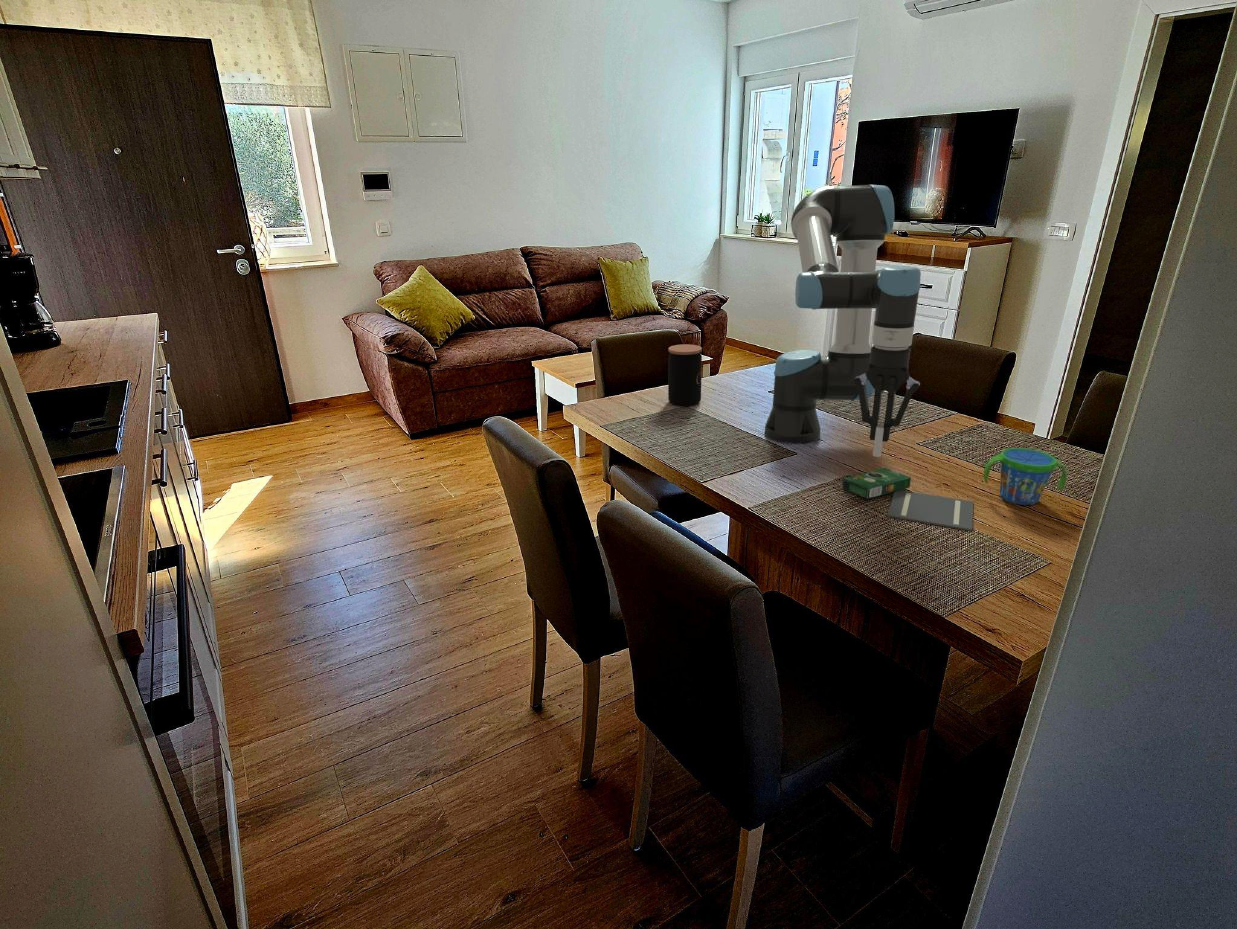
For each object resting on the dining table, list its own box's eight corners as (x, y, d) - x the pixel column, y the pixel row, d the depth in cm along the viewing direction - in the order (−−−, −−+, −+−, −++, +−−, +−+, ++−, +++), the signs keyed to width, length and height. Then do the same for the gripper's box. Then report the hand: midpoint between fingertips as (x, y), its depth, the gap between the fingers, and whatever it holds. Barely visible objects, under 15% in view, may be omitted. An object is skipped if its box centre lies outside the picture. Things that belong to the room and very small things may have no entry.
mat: (887, 516, 142) (887, 514, 142) (894, 490, 153) (895, 489, 153) (971, 531, 135) (972, 529, 135) (973, 503, 147) (973, 501, 146)
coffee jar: (702, 407, 214) (703, 351, 207) (669, 407, 215) (669, 352, 208) (699, 397, 224) (700, 343, 217) (667, 398, 224) (667, 344, 218)
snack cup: (1055, 494, 149) (1065, 451, 146) (1065, 514, 140) (1076, 469, 137) (977, 485, 155) (985, 444, 151) (981, 504, 146) (990, 461, 142)
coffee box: (868, 500, 148) (911, 488, 153) (869, 488, 147) (912, 476, 153) (841, 489, 155) (883, 478, 160) (842, 478, 154) (884, 466, 159)
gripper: (854, 347, 136) (842, 456, 145) (924, 352, 130) (907, 465, 139) (860, 340, 142) (848, 444, 151) (927, 344, 136) (911, 452, 145)
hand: (877, 454), depth 145 cm, fingers closed
